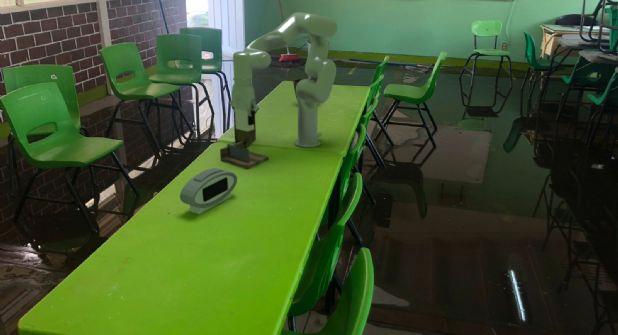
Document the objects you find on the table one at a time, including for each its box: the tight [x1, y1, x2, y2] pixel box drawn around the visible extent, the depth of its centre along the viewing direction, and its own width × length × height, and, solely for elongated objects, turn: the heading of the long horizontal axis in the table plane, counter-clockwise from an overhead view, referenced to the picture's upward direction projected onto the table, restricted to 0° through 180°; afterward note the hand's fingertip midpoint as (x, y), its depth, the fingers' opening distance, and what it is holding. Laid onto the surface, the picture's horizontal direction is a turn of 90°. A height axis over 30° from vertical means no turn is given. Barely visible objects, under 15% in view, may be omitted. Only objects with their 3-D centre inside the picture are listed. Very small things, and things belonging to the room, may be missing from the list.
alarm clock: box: [179, 167, 238, 215], centre depth 171 cm, size 23×6×13 cm, turn 148°
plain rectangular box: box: [235, 107, 254, 131], centre depth 205 cm, size 4×7×10 cm, turn 54°
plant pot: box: [292, 78, 317, 103], centre depth 297 cm, size 15×15×16 cm
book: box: [232, 109, 257, 149], centre depth 230 cm, size 16×6×25 cm, turn 168°
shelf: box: [219, 141, 270, 170], centre depth 212 cm, size 14×16×8 cm
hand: (244, 122), depth 206 cm, fingers closed on plain rectangular box, 7 cm apart
